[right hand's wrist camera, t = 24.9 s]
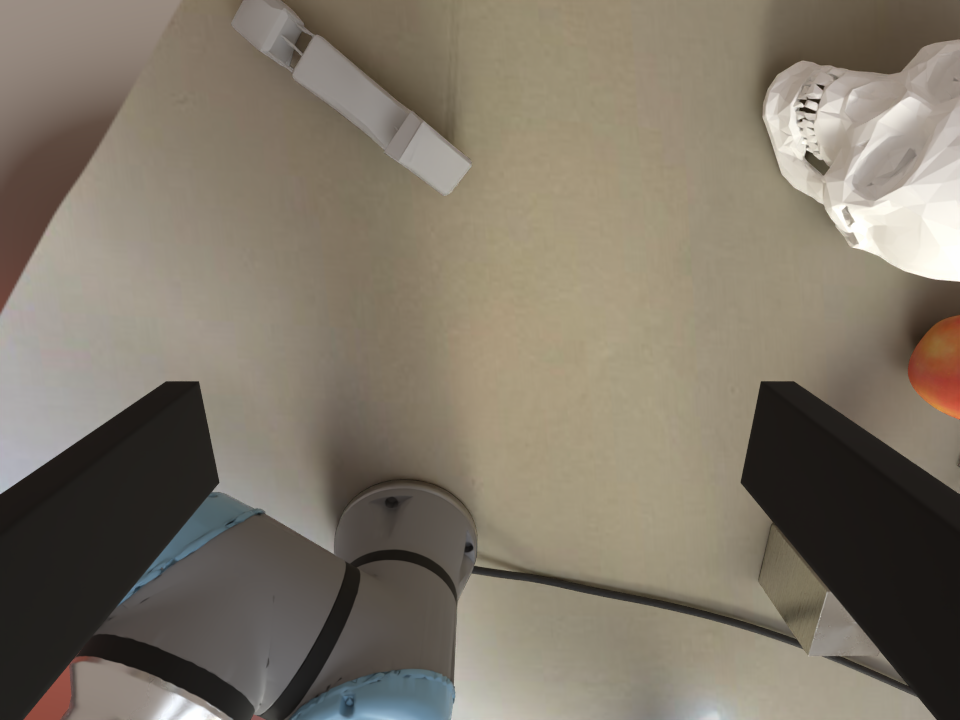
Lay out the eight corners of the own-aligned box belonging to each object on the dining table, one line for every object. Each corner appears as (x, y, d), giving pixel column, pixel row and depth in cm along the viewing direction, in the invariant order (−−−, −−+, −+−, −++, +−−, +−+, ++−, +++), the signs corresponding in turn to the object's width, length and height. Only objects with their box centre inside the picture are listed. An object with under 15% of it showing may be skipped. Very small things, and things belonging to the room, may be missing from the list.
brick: (771, 523, 57) (827, 592, 48) (833, 523, 57) (901, 592, 48) (757, 581, 60) (808, 656, 50) (817, 581, 60) (877, 656, 50)
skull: (806, 5, 40) (992, -79, 25) (1018, 142, 43) (1291, 139, 29) (704, 171, 44) (810, 182, 30) (903, 284, 48) (1087, 343, 33)
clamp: (476, 162, 43) (468, 155, 37) (449, 199, 44) (437, 198, 38) (276, -3, 41) (230, -43, 34) (252, 40, 42) (203, 9, 35)
